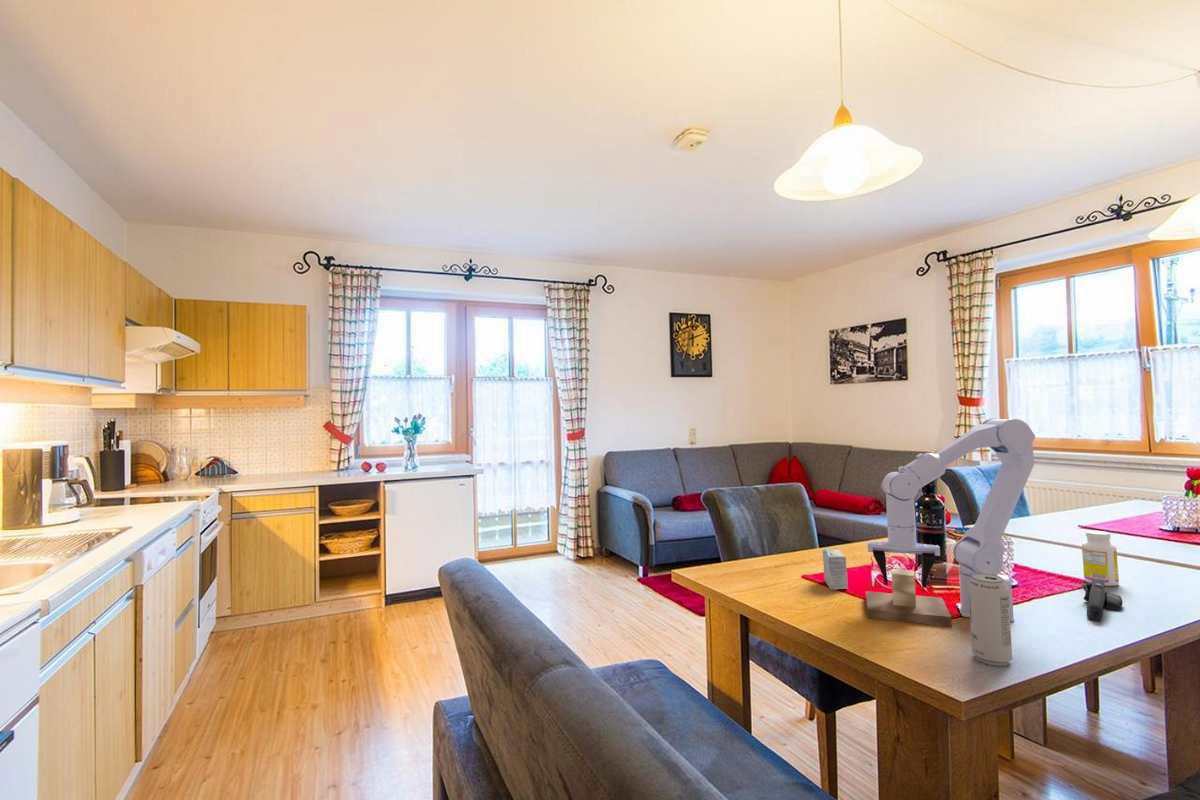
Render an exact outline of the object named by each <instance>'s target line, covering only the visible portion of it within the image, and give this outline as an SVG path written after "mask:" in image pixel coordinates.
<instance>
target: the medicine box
mask: <svg viewBox="0 0 1200 800" xmlns="http://www.w3.org/2000/svg"><path fill="white" fill-rule="evenodd" d="M822 560H823V561H822V562H823V578H824V582H825V584H826V585H827V586H828V589H829V590H831V591H832V590H833V591H839V590H838V589H848V590H849V585H848V570H847V556H845V555H844V554H843V552H842V551H841V550H840V549H823V550H822Z"/></svg>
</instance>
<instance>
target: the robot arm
mask: <svg viewBox="0 0 1200 800" xmlns="http://www.w3.org/2000/svg"><path fill="white" fill-rule="evenodd" d="M1035 438H1036V435H1035V433H1034V432H1033V430H1032V429H1031V427H1030V426H1029V424H1028V423H1027V422H1025V421H1023V420H1022V419H1018V418H1009V419H1005V418H1002V419H1000V418H994V417H993V418H988V419H986V420H983V422H981V423H979V424H977V425H974V426H973V427H971V428H970V429H969V430H968V431H967V432H965V433H964V434H962V435H960V436H959V437H958V438H956V439H955V440H954V441H952V442H950V443H949V444H948V445H946V446H945V447H943V448H942V449H940V450H939V451H938V452H936V453H931V452H925V453H918V454H917V455H916V456H915V459H913V461H910V462H909V463H907V464H906V465H904V466H903V465H900V466H899V467H897V469H898V471H891V472H889V473H887V474H886V475H885V476H884V477H883V478H884V479H882V483H880V487H881V490H882V491H883V492H884V493H885V498H886V499H885V500H886V503H885V504H886V505H885V506H886V522H887V523H886V524H887V539H888V541H867V542H866V543H867V552H868V553H873V557H874V560H875V561H876V563H877V565H878V567H879V570H880V572H881V575H882V579H883V583H884V584H883V585H884V586H889V581H888V573H887V557H886V553H893V554H894V553H895V554H912V555H920V556H919V557H920V565H921V566H920V568H921V577H920V579H921V587H922V588H923V589H924V588H925V589H926V588H927V584H928V578H929V575H930V572H931V569H932V567H933V566H934V564H935V562H936V557H940V556H941V547H940V546H939V545H938V544H936V545H935V544H928V543H927V544H926V543H919V542H917V526H916V525H917V524H916V510H915V499H914V498H915V497H916V496H917V494H919V493H918V492H919V489H922V488H923V487H925V486H927V485H929V483H931V482H933V481H934V480H936V479H938V478H940V477H942V476H943V475H944V474H945V473H946V470H947V469H946V468H947V466H948V465H950V464H952V463H954V462H955V461H957V460H959V459H961V458H962V457H963V458H964V457H965V456H966V455H968V454H970V453H972V452H974V451H975V450H977V449H979V448H990V449H991V450H992V451H993V452H994V453H995V454H996V456H997V458H998V460H999V461H1000V462H1001V465H1000V467H999V469H998V471H997V473H996V477H995V479H994V480H993V483H992V485H991V488H990V489H989V491H988V495H987V497H986V498H985V500H984V503H983V506H982V507H981V509H980V513H979V514H978V517H977V518H976V521H975V523H974V525H973V526H972V527H970V528H969V529H968V530H966V531H965V532H964V534H963V537H961V538H960V539H959V540H958V541H957V542H956V543H955V544H954V545H953V549H952V555H953V557H954V559H955V560H956V562H957V563H959V567H958V575H959V577H958V578H959V579H958V580H959V596H960V602H959V603H956V604H955V605H956V607H957V606H958V607H957V609H958V608H959V609H958V611H959V610H960V611H959V612H960V614H961V616H962V617H965V618H970V603H969V583H970V581H971V579H972V575H973V574H991V575H996V576H999V577H1002V578H1003V579H1004V583H1005V585H1006V586H1007V588H1008V591H1009V609H1010V622H1015V618H1014V605H1013V604H1014V603H1013V590H1012V582H1011V580H1010V577H1009V576H1008V575H1005V574H999V573H1000V572H1002V569H1003V567H1004V558H1003V557H1004V553H1005V551H1006V546H1005V544H1004V540H1003V535H1004V534H1005V531H1006V528H1007V527H1008V525H1009V522H1010V520H1011V517H1012V515H1013V512H1014V510H1015V508H1016V506H1017V504H1018V502H1019V499H1020V498H1021V495H1022V493H1023V490H1024V489H1025V486H1026V485H1027V482H1028V480H1029V477H1030V475H1031V473H1032V470H1033V468H1034V466H1035V458H1034V457H1035V456H1034V446H1033V443H1034V440H1035Z"/></svg>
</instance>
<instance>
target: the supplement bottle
mask: <svg viewBox="0 0 1200 800" xmlns="http://www.w3.org/2000/svg"><path fill="white" fill-rule="evenodd" d="M1085 536H1086V538H1087V539H1086V540H1085V541H1083V542H1082V543H1081V552H1082V553H1081V554H1082V566H1083V579H1084V581H1085V582H1086V583H1092V581H1093V580H1097V579H1098V580H1101V581H1102V582H1104V584H1105V587H1116V586H1118V585H1119V583H1120V579H1119V564H1118V551H1117V546H1116V545H1115V544H1114V543H1113V542H1111V541H1110V540H1111V533H1110V532H1107V531H1104V530H1103V531H1101V530H1086V531H1085Z"/></svg>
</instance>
